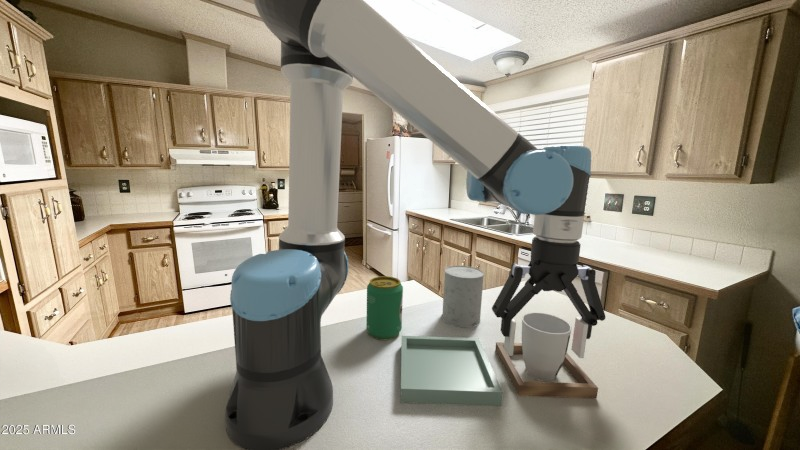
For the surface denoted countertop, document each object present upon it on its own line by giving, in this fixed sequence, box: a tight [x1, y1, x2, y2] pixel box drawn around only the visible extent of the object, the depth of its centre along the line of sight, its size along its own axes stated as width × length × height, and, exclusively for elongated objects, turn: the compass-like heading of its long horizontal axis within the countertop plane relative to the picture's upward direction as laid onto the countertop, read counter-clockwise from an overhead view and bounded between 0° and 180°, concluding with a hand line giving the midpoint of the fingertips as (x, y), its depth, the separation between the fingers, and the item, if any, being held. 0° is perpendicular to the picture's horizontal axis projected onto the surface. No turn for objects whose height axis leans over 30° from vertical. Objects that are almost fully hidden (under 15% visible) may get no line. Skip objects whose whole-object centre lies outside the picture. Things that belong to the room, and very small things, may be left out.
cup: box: [521, 312, 572, 382], centre depth 57 cm, size 8×8×10 cm
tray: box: [400, 335, 504, 407], centre depth 57 cm, size 16×16×2 cm
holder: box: [495, 341, 599, 400], centre depth 58 cm, size 13×13×2 cm
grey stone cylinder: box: [441, 265, 485, 328], centre depth 78 cm, size 10×10×12 cm
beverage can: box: [366, 275, 404, 341], centre depth 70 cm, size 8×8×12 cm
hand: (542, 352), depth 57 cm, fingers open, 12 cm apart
